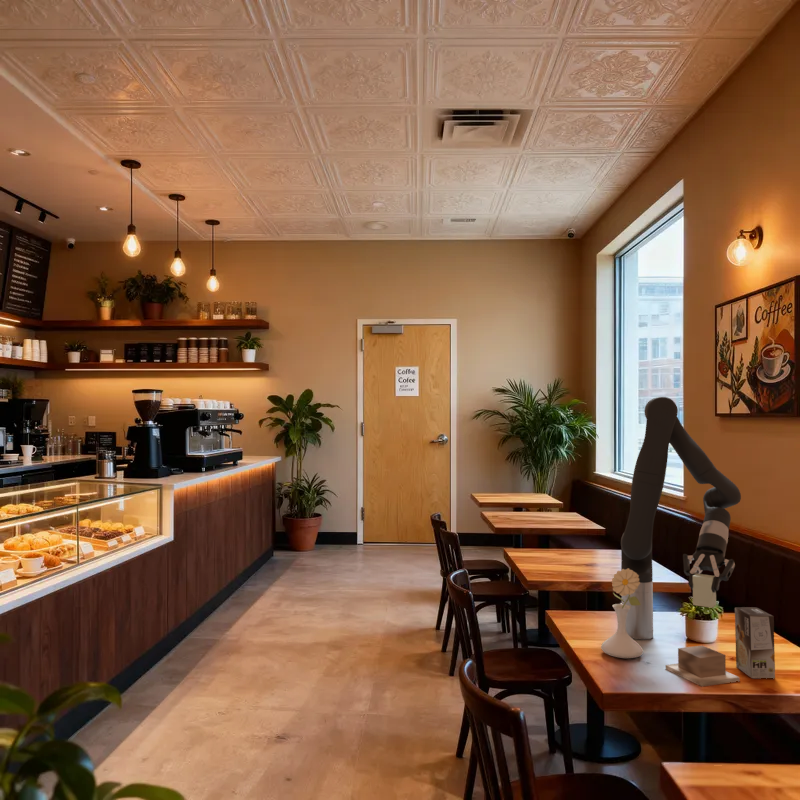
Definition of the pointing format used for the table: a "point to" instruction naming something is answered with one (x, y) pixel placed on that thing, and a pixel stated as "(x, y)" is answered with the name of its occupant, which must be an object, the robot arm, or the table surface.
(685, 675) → the tower base
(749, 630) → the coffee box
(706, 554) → the robot arm
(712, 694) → the table surface
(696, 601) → the sage brick
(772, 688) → the table surface
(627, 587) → the flower in vase
